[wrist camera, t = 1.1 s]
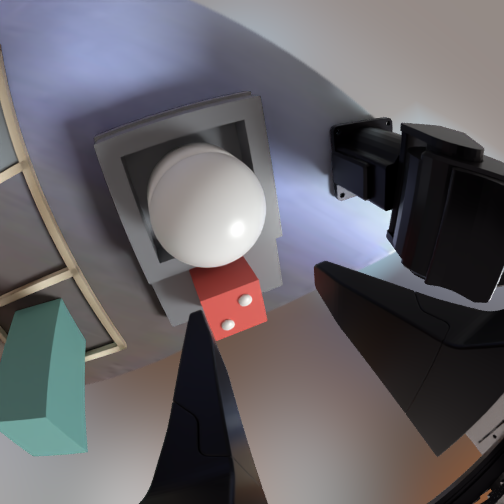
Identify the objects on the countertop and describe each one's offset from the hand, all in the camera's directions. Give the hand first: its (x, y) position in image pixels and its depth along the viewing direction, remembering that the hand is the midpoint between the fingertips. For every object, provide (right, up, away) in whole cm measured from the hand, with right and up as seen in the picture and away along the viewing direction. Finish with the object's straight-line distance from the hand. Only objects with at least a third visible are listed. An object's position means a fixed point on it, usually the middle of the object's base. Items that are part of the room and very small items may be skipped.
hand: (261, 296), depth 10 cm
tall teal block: (-18, -5, +12) cm, 22 cm away
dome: (-4, +5, +8) cm, 10 cm away
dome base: (-4, +4, +12) cm, 13 cm away
